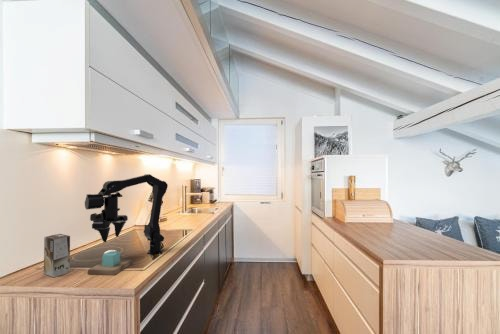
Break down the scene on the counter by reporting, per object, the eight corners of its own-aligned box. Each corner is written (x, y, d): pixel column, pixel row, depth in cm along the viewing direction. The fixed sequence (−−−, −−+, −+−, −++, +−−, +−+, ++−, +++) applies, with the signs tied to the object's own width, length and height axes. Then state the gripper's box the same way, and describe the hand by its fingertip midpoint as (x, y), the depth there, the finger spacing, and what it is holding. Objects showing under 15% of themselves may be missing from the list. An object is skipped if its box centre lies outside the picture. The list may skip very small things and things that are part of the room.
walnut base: (108, 263, 115) (108, 259, 115) (131, 263, 114) (131, 259, 114) (87, 274, 102) (87, 269, 102) (114, 275, 101) (114, 270, 101)
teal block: (109, 262, 111) (109, 251, 111) (120, 262, 110) (120, 251, 111) (102, 266, 106) (102, 255, 106) (112, 266, 106) (113, 255, 106)
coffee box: (70, 272, 105) (71, 235, 105) (53, 277, 99) (53, 239, 100) (59, 268, 109) (60, 233, 109) (42, 273, 103) (43, 236, 104)
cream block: (109, 257, 123) (109, 250, 123) (116, 258, 123) (116, 250, 123) (103, 260, 119) (103, 252, 119) (111, 260, 119) (111, 252, 119)
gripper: (107, 204, 125) (107, 234, 124) (80, 210, 106) (80, 245, 106) (128, 204, 124) (128, 234, 124) (104, 209, 106) (104, 245, 105)
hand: (111, 239), depth 115 cm, fingers open, 9 cm apart
